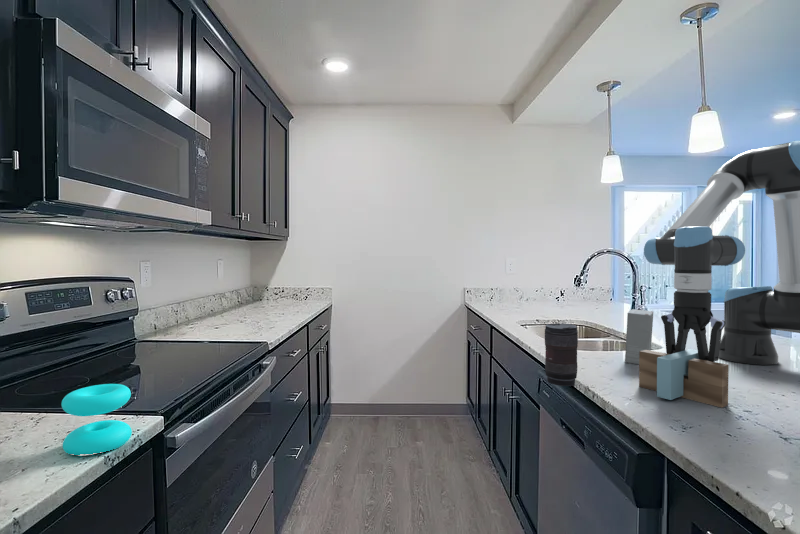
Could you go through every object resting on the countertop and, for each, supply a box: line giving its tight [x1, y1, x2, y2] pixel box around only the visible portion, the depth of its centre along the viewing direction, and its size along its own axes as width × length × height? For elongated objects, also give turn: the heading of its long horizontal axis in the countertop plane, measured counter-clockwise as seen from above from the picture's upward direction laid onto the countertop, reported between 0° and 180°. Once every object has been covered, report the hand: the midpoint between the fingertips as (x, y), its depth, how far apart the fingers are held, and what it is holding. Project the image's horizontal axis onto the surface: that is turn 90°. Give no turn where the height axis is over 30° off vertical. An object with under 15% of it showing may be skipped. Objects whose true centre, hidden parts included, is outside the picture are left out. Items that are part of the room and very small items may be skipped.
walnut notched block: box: [638, 350, 730, 409], centre depth 102 cm, size 3×18×9 cm, turn 32°
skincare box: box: [624, 309, 654, 365], centre depth 135 cm, size 8×7×16 cm
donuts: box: [61, 383, 133, 455], centre depth 76 cm, size 10×10×10 cm
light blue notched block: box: [656, 348, 699, 401], centre depth 103 cm, size 16×3×9 cm, turn 122°
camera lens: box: [544, 322, 579, 387], centre depth 113 cm, size 8×8×15 cm
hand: (691, 387), depth 105 cm, fingers closed on light blue notched block, 3 cm apart
